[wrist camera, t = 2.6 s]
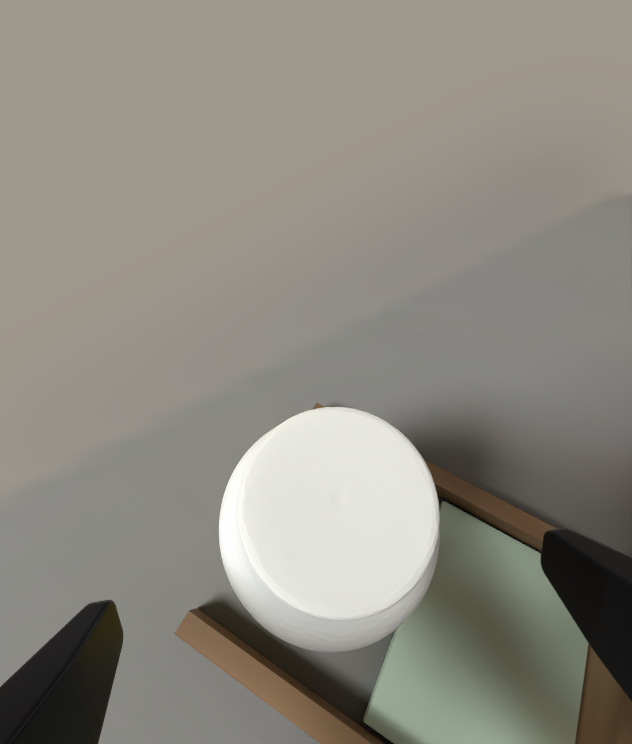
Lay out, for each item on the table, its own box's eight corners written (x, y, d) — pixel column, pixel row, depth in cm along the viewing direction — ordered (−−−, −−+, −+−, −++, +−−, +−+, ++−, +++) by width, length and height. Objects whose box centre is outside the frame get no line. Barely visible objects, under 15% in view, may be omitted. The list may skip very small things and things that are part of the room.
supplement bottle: (226, 564, 15) (123, 548, 6) (297, 454, 18) (295, 333, 9) (340, 649, 14) (413, 780, 5) (400, 518, 16) (520, 452, 7)
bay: (576, 920, 11) (707, 1084, 7) (183, 629, 14) (145, 647, 11) (616, 572, 16) (706, 571, 12) (315, 412, 19) (319, 375, 15)
